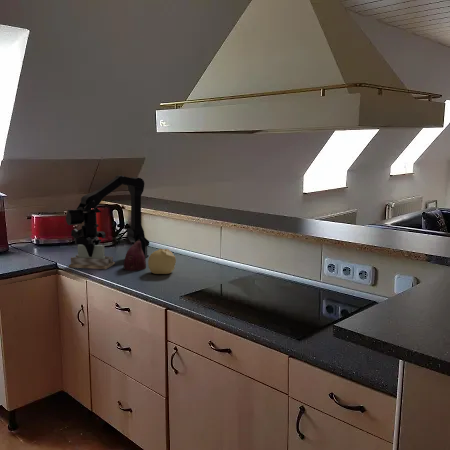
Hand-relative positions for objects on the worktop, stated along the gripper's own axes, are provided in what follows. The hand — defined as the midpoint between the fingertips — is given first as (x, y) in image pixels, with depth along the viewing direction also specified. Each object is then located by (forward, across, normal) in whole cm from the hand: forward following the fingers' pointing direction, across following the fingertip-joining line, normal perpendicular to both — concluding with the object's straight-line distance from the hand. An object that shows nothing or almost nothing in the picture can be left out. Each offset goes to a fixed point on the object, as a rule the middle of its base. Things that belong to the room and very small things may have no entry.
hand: (91, 256), depth 223 cm
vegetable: (+5, 0, +21) cm, 22 cm away
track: (+4, 0, 0) cm, 5 cm away
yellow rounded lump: (+5, +6, +36) cm, 37 cm away
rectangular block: (+2, 0, 0) cm, 2 cm away
